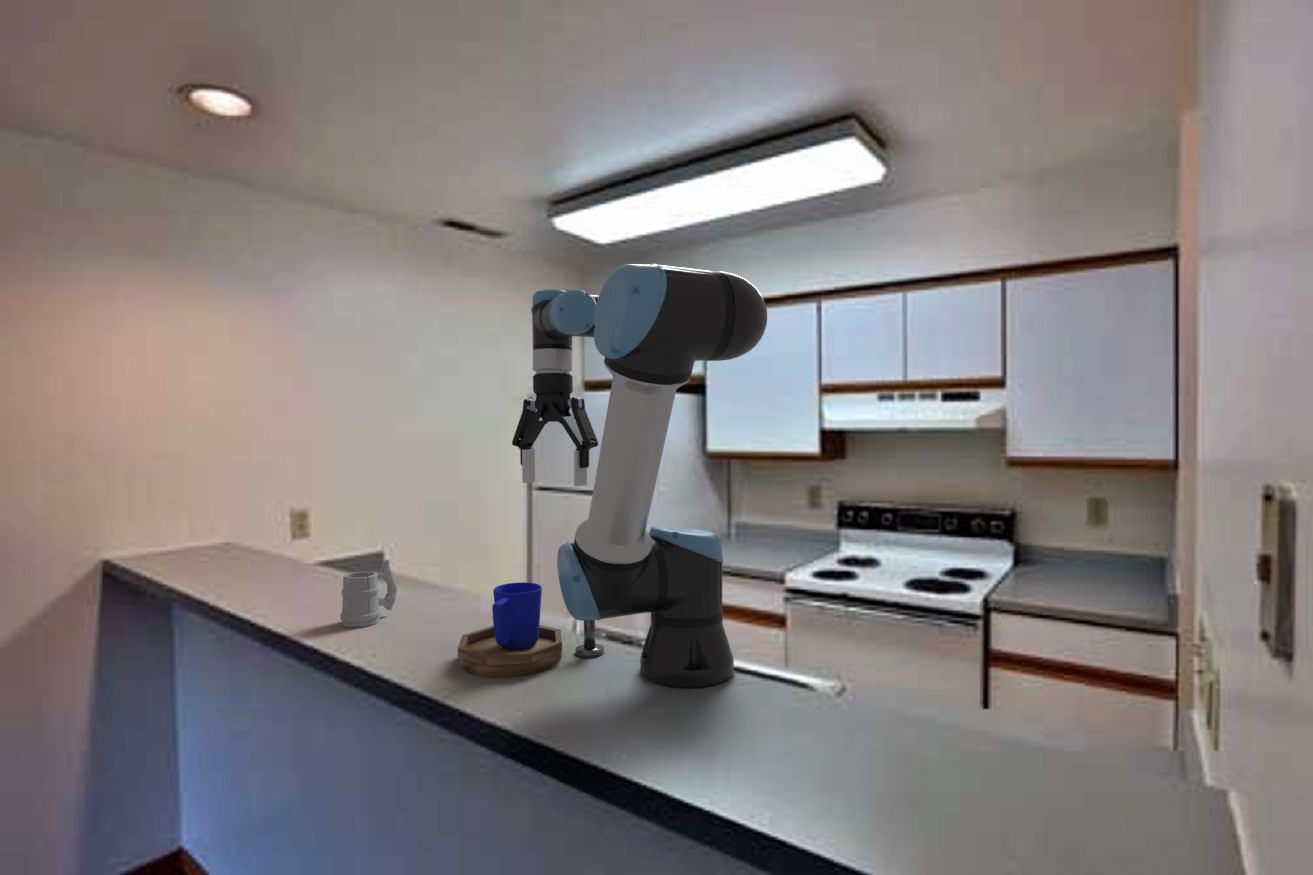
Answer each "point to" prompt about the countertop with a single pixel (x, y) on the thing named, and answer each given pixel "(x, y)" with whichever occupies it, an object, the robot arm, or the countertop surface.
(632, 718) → the countertop surface
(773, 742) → the countertop surface
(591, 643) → the stand rod
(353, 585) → the mug
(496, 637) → the mug
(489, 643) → the octagonal wooden tray
